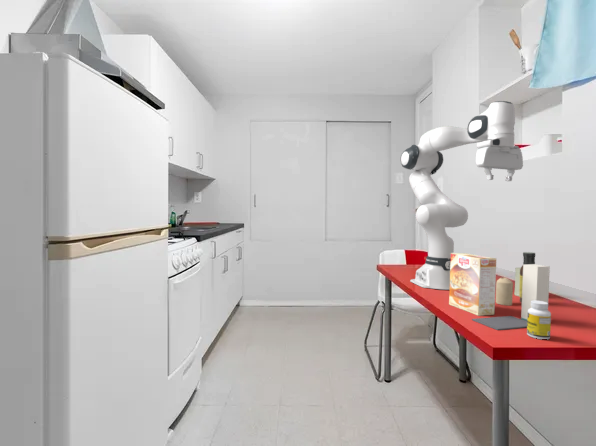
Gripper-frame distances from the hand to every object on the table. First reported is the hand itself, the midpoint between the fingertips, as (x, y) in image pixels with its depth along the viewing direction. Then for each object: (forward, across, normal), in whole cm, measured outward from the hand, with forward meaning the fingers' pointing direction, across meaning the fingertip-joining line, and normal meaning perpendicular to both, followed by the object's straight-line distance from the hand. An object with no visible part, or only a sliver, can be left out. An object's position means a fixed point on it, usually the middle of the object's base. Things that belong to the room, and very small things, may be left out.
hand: (499, 180), depth 133 cm
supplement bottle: (+48, +20, +31) cm, 61 cm away
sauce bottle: (+48, -15, +2) cm, 50 cm away
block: (+48, +6, +20) cm, 52 cm away
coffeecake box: (+48, +16, +4) cm, 50 cm away
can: (+48, -26, -7) cm, 55 cm away
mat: (+47, +18, +20) cm, 54 cm away
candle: (+48, -4, +1) cm, 48 cm away
